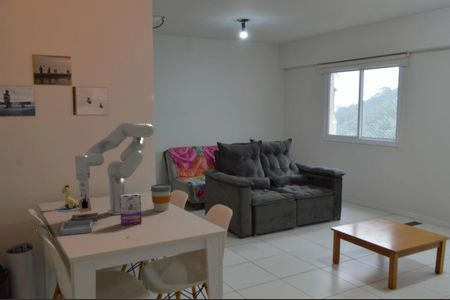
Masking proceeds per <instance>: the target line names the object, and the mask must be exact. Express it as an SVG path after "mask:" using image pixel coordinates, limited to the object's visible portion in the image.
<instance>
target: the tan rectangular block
mask: <svg viewBox="0 0 450 300" xmlns="http://www.w3.org/2000/svg"><path fill="white" fill-rule="evenodd" d="M87 201H88V208H85V209H82V198H81V199H78V201H77V204H78V205H79V208H78V209H80V210H79V213H80V214H83V213H87V212H91V211H92V204H91V199H90V197H87Z"/></svg>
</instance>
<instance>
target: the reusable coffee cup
mask: <svg viewBox="0 0 450 300" xmlns="http://www.w3.org/2000/svg"><path fill="white" fill-rule="evenodd" d="M150 191H151V201H152V203H153V210H154V211H156V212H165V211H168V210H169V208H170V202H171V192H172V187H171V184H166V183H159V184H153V185H150Z"/></svg>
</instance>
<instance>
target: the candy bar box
mask: <svg viewBox="0 0 450 300" xmlns="http://www.w3.org/2000/svg"><path fill="white" fill-rule="evenodd" d="M141 198H142V197H141V193H139V192H138V193H126V194H122V195H120V211H121V214H120V225H121V226H128V225H140V224H142V223H143V222H142V221H143V220H142V201H141Z"/></svg>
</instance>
